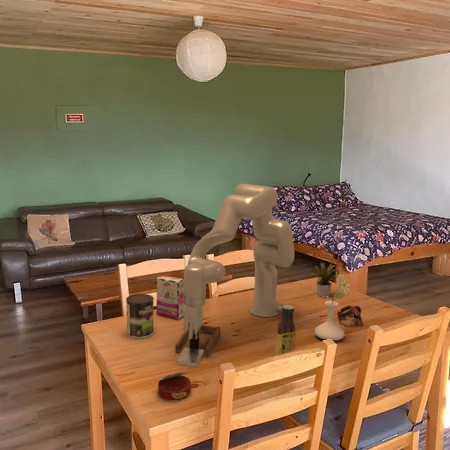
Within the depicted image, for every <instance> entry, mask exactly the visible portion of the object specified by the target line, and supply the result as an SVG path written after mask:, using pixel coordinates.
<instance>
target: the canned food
mask: <svg viewBox="0 0 450 450" xmlns="http://www.w3.org/2000/svg"><path fill="white" fill-rule="evenodd" d="M186 374H188V372H176V373H172V374H168V375H166V376H163V377H161V378H159V379H158V380H157V382H158V383H157V388H158V390H157V392H158V396H159V397H160V398H161V399H162V400H165V399H166V401H170V400H178V401H181V399H182V400H184V399H186V398H188V397H189V396H190V395H191V393H190V392H191V391H192V390H191V389H192V388H191V386H192V382H191V380H190V378H188V377H187V376H186ZM189 394H190V395H189ZM188 395H189V396H188ZM187 396H188V397H187Z"/></svg>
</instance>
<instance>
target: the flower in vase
mask: <svg viewBox="0 0 450 450" xmlns="http://www.w3.org/2000/svg"><path fill="white" fill-rule="evenodd" d="M335 281H336V286H337V289H336V292H335V295H334V296H333V297H332V296H330V295H329V296H328V297H327V299H329V300H326V301H325V302H324V304H325V305H326V309H327V319H326V321H325V322H323V323H321V324H319V325H317V326H316V328H315V329H314V334H315V336H317V337H318V338H320V339H323V340H325V339H332V340H334V341H339V340H342V339H344V337H345V335H346V334H345V330H343V329H342V327H340V326H339V325H338V324H337V323H335V320H334V319H335V318H334V316H335V310H336V308H337V307H338V306H339V303H338V302H337V301H335V299H336V297H337V298H338V299H340V300H341V299H343V298H344V295H348V293H350V291H351V283H350V282H349V278H347V277H346V275H345V274H343V273H342V274H338V276H337V278H336V280H335Z"/></svg>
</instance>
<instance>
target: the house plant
mask: <svg viewBox="0 0 450 450" xmlns="http://www.w3.org/2000/svg"><path fill="white" fill-rule="evenodd" d="M325 265H326V263H325V262H323V263H322V262H320V269H319V268H318V266H317V265H314V267H315V270H316V271H317V273H318V274H316V272H314V273H312V275H314V276H316V277H317V282H316V288H317V289H316V290H317V291H316V292H317V296H318V295H319V296H318V297H320V296H324V297H323V298H327V297H326V296H330V293H331V288H332V285H333V284H332V282H330V281H331V280H332V281H333V282H335V281H336V280H335V279H337V278H338V275H339V274H338V275H337V274H336V275H334V274H333V273H339V272H340V269H338V268H336V269H333V268H334V267H335V266H336V265H335V264H333V265H332V262H331V263H330V264H329V266H328V267H327V268H326V266H325Z"/></svg>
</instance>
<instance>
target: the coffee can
mask: <svg viewBox="0 0 450 450" xmlns="http://www.w3.org/2000/svg"><path fill="white" fill-rule="evenodd" d="M154 300H155V299H154V297H153V295H150V294H147V293H146V294H145V293H136V294H131V295H129V296H127V297H126V298H125V302H126V335H127V336H128V337H129V338H131V339H137V340H138V339H141V340H142V339H146V338H150V337H151V336H153V335H154Z"/></svg>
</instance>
